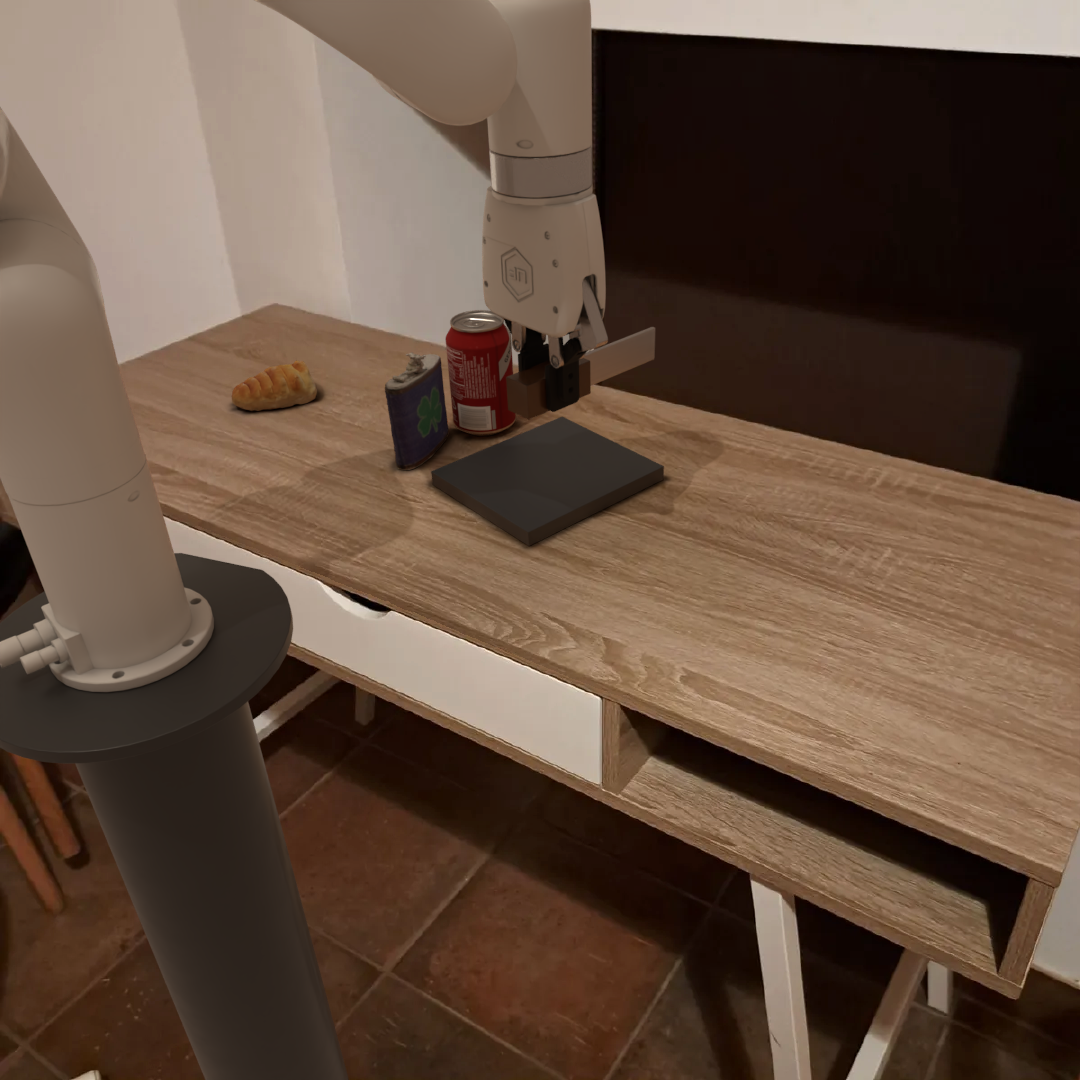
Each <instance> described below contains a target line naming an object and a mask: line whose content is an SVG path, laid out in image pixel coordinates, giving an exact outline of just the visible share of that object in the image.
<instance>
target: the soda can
mask: <svg viewBox="0 0 1080 1080" xmlns="http://www.w3.org/2000/svg"><path fill="white" fill-rule="evenodd" d="M449 325H450V328H449V329H448V331H447V334H446V335H445V349H446V361H447V370H448V380H449V392H450V401H451V411H452V422H453V425H454V427H455V428H456V429H457V430H459V431H462V432H464V433H467V434H469V435H473V436H479V437H481V436H482V437H484V436H493V435H496V434H499V433H502V432H503V431H505V430H507V429H509V428H511V427H512V425H514V424H515V422H516V419H517V416H516V415H517V414H515V413H513V412H511V411H509V410H508V399H507V382H506V377H507V376H510V375H512V374H514V366H513V365H514V364H513V363H514V361H513V346H512V334H511V333H510V331H509V329H508V327H507V326H506V324H505V320H503V319H502V317H500V316H498V315H496V314H495V313H493V312H492V311H491V310H489V309H475V310H468V311H463V312H460V313H457V314H455V315H454V316H452V317H451V319H450V320H449Z"/></svg>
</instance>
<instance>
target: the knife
mask: <svg viewBox="0 0 1080 1080" xmlns="http://www.w3.org/2000/svg"><path fill="white" fill-rule="evenodd" d="M655 350H656V327H654V326H650V327H648V328H646V329H642V330H640V331H638V332H635V333H633V334H630V335H627V336H625V337H623V338H620V339H618V340H614V341H612V342H611V343H606V344H605V345H602V346H599V347H597V348H594V349H591V350H588V351H587V352H586V353H585V356H584V358H582V359H580V360H579V395H580V397H579V399H581V398H583V397H585V396H588V395H590V394H591V393H592V390H591V388H592V387H591V386H594V385H596V384H598V383H600V382H603V381H606V380H608V379H610V378H613V377H615V376H618V375H620V374H622V373H625V372H627V371H629V370H632V369H634V368H637V367H639V366H641V365H644V364H646V363H649V362H651V361H654V360H655V355H656V354H655V353H656V351H655ZM549 364H551V363H550V360H549V361H546V362H543V363H541V364H538V365H536V366H533V367H531V368H528V369H525V370H523V371H520V372H519V371H518V372H515V373H513V374H512V375H510V376H507V377H506V382H507V399H508V410H509V411H511V412H513V413H515V414H516V415H517V416H519V417H522V418H523V419H526V420H531V419H534V418H536V417H539V416H541V415H543V414H546V413H548V412H551V411H550V410H548V409H547V403H546V379H545V366H547V365H549Z"/></svg>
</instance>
